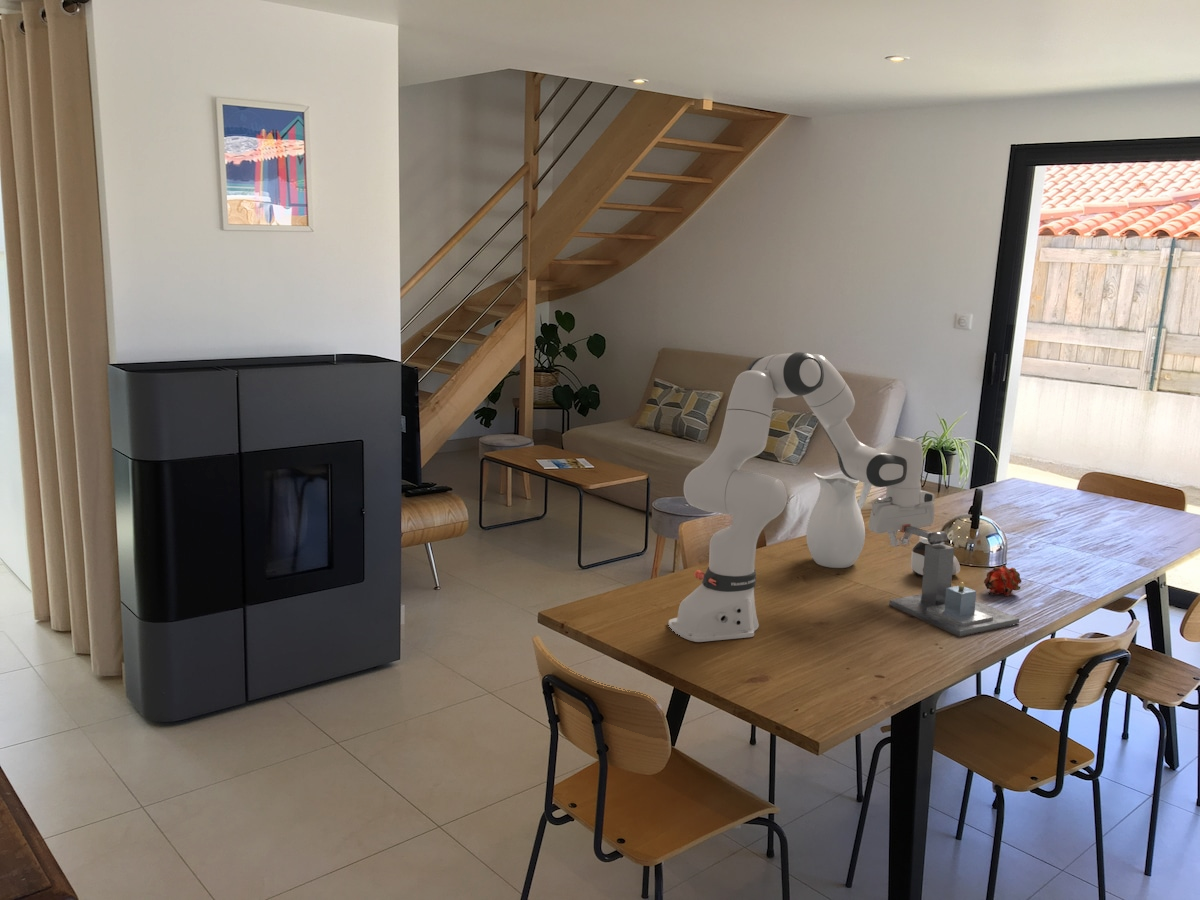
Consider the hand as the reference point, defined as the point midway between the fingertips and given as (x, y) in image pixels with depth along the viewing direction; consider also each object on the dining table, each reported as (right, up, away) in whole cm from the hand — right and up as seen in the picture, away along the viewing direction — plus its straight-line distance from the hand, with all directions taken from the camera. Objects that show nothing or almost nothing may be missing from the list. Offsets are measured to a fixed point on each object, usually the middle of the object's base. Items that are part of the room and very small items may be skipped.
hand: (899, 545), depth 259 cm
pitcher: (-9, -8, +29) cm, 31 cm away
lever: (+1, +3, -3) cm, 5 cm away
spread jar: (+15, -11, +16) cm, 25 cm away
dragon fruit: (+28, -14, 0) cm, 31 cm away
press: (+9, -16, -15) cm, 24 cm away
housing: (+9, -15, -20) cm, 27 cm away
